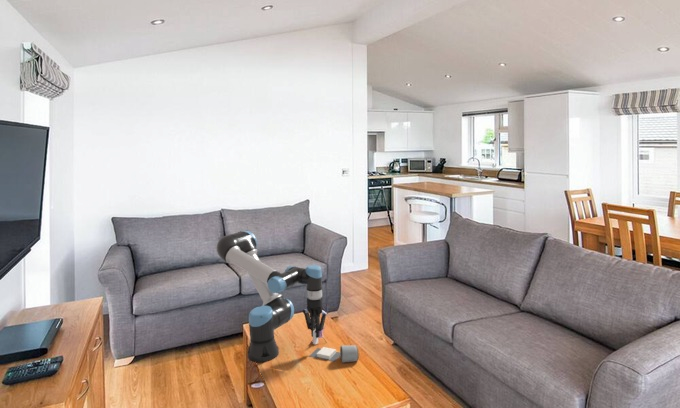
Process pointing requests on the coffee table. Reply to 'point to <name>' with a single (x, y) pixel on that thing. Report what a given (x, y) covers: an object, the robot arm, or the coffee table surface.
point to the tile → (326, 353)
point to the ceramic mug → (349, 353)
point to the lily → (321, 334)
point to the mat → (324, 358)
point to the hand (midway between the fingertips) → (315, 343)
